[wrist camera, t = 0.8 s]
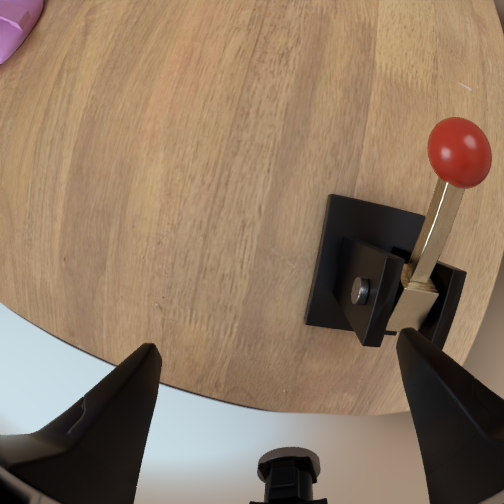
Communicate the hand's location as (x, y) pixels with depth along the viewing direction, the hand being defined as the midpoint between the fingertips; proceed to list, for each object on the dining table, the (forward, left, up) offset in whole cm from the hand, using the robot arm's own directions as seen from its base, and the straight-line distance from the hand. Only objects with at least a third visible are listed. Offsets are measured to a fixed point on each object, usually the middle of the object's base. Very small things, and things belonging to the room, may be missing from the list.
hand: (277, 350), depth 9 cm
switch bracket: (-2, -7, -13) cm, 15 cm away
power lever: (+2, -9, -5) cm, 10 cm away
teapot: (+45, +27, -13) cm, 55 cm away
